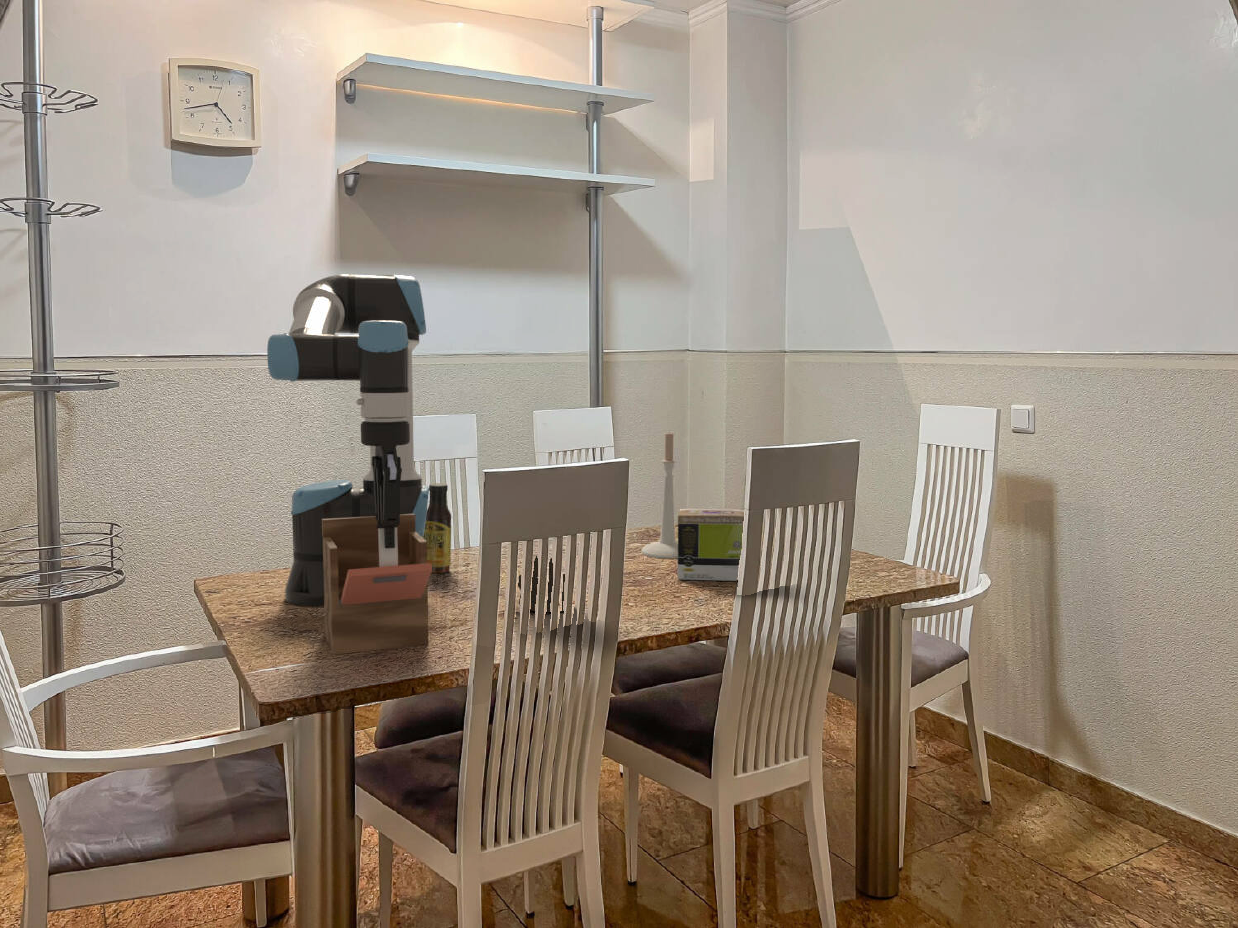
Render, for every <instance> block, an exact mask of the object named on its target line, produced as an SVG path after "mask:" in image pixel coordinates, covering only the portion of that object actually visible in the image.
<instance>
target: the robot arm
mask: <svg viewBox="0 0 1238 928" xmlns="http://www.w3.org/2000/svg"><path fill="white" fill-rule="evenodd" d="M292 315H293V321H292V323H291V327H290V329H289V331H288V333H285V332H284V333H283V334H280V333H278V334H272V335H271V336H269V338H268V340H267V341H268V342H267V350H266V352H267V353H266V354H267V368H268V374H269V376H270V377H271V378H272V379H274V380H277V381H290V382H300V381H301V382H304V381H306V382H307V381H308V382H309V381H311V382H314V381H315V382H317V381H318V382H319V381H321V382H322V381H323V382H324V381H327V382H328V381H345V382H346V381H353V382H354V381H355V382H357V381H358V382H359V392H360V394H359V395H360V398H357V399H356V405H358V406H360V417H361V418H362V419H364V420H363V421H361V423H360V443H361V444H362V445H363V446H368V447H369V450H370V452H369V454H370V457H369V459H370V460H369V461H370V463H369V464H370V468H369V469H370V470H369V471H368V472H367V473H366V474H365V476H364V477H363V478H362V487H353V483H352V481H351V480H349V479H341V480H340V479H337V480H336V479H334V480H326V481H322V482H315V483H311V484H306V485H303V486H301V487H298V488H297V489H296V490H294V492H293V494H292V496H291V511H290V514H291V516H292V517H291V521H292V553H293V554H292V555H293V561H292V565H291V568H290V571H289V575H288V578H287V581H286V585H285V590H284V591H285V592H284V593H285V594H284V595H285V597H284V598H285V601H286V602H287V603H289V604H290V605H296V606H303V607H324V577H323V542H322V519H331V518H348V517H365V516H375V518H376V520H378V521H377V524H376V528H377V529H378V538H379V567H387V566H398V542H397V525H399V524H400V514H415V528H416V532H417V533H418V534H419V535H420V536H421V537H422V538H423V535H424V530H425V523H426V515H427V509H428V507H429V496H430V491H429V486H427V485H425V484H422V482H423V481H422V480H423V479H422V478H423V477H422V476H421V475H420V474H419V473H418V472H417V471H416V470H415V464H414V463H415V462H414V461H415V459H414V407H413V406H414V404H413V403H414V401H413V400H414V399H413V398H414V397H413V396H414V395H413V390H414V389H413V350H415V349H416V347H417V346H418V345H419V344H420V336H421V335H422V336H423V335H425V334H427V324H426V319H425V318H426V317H425V308H424V303H423V297H422V290H421V286H420V283H419V281H418V279H417V278H416V277H413V276H407V275H398V274H347V273H346V274H343V273H342V274H333V275H331V276H327V277H324V278H322V279H319V280H316V281H314V282H313V283H311V284H309V285H307V286H306V287H305V288H303V289H302V290H301V291H299V293H298V295H297V296H296V298H295V301H294V302H293V307H292Z"/></svg>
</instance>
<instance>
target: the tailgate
mask: <svg viewBox="0 0 1238 928" xmlns="http://www.w3.org/2000/svg"><path fill="white" fill-rule="evenodd" d="M431 572H432V564H431V563H425V564H413V565H400V566H387V567H374V568H361V569H349V570H348V573H347V577H346V581H345V585H344V589H343V593H342V597H341V599H339V605H340V606H341V605H352V604H362V603H373V602H384V601H395V600H406V599H417V598H422V594H423V591H424V589H425V586H426V584H427V582H428V581H429V579H430V576H431V575H432V574H431ZM428 583H429V582H428Z"/></svg>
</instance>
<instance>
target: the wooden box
mask: <svg viewBox="0 0 1238 928" xmlns="http://www.w3.org/2000/svg"><path fill="white" fill-rule="evenodd" d="M377 521H378V520H376V518H375V516H365V517H348V518H331V519H322V542H323V577H324V606H323V608H324V609H323V610H324V636H325V639H326V641H327V644H328V647H329V648H330V651H331V654H332V655H340V654H341V655H342V654H343V655H344V654H349V653H350V654H353V653H358V652H359V653H360V652H367V651H368V652H369V651H377V650H378V651H379V650H387V649H397V648H404V647H405V648H406V647H415V646H416V647H417V646H422V645H429V643H430V642H429V595H428V592H429V590H428V588H429V587H428V583H429V582H427V584H426V586H425V589H424V591H423V594H422V598H417V599H406V600H395V601H384V602H373V603H362V604H352V605H341V606H340V605H339V599H341V597H342V593H343V589H344V585H345V581H346V577H347V573H348V570H349V569H361V568H374V567H379V538H378V529H377V528H376V524H377ZM397 542H398V566H400V565H413V564H425V563H427V541H426V540H424V539H423V538H422V537H421V536H420V535H419V534H418V533H417V532H416V528H415V514H400V524H399V525H397Z"/></svg>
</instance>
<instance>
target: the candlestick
mask: <svg viewBox="0 0 1238 928" xmlns="http://www.w3.org/2000/svg"><path fill="white" fill-rule="evenodd" d="M664 435H665V436H664V442H665V443H664V459H662V460H661V462H662V464H663V466H662V467H663V469H664V471H665V472H664V473H665V474H664V475H663V477H664V481H663V495H662V507H661V508H662V510H661V524H660V534H659V535H660V537H659V541H655V542H651V543H649V544H646V545H645V546H643V547H642V548H641V551H640V552H641V554H642V555H643V556H645V557H649V558H655V559H656V558H657V559H669V560H670V559H672V560H673V559H676V560H677V559H678V541H677V540H676V533H675V506H674V474H673V470H674V468H675V463H676V462H677V460H674V433H673V432H666V433H664Z"/></svg>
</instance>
